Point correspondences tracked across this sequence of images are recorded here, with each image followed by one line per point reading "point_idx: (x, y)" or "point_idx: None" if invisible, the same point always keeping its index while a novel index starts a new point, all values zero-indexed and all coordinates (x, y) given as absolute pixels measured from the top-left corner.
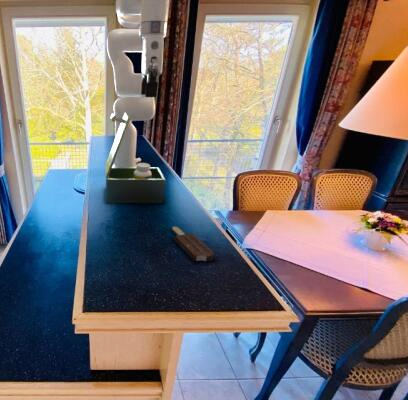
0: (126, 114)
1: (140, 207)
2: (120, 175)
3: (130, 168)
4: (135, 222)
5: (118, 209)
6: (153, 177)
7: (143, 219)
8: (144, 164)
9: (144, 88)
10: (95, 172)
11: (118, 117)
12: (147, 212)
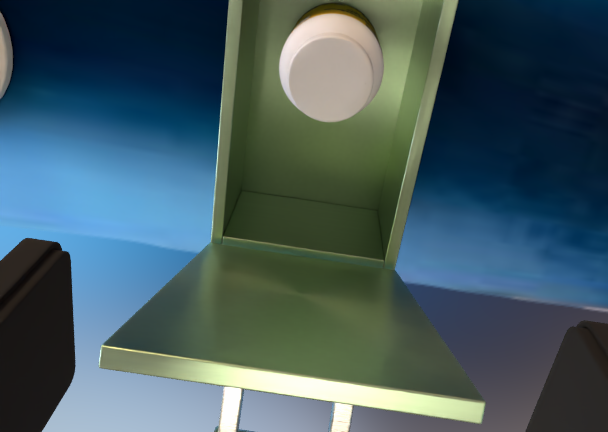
0: (271, 391)
1: (457, 82)
2: (236, 157)
3: (232, 117)
4: (578, 138)
5: (452, 179)
6: None
7: (566, 100)
8: (320, 69)
9: (30, 413)
10: (5, 209)
11: (234, 418)
12: (512, 65)
